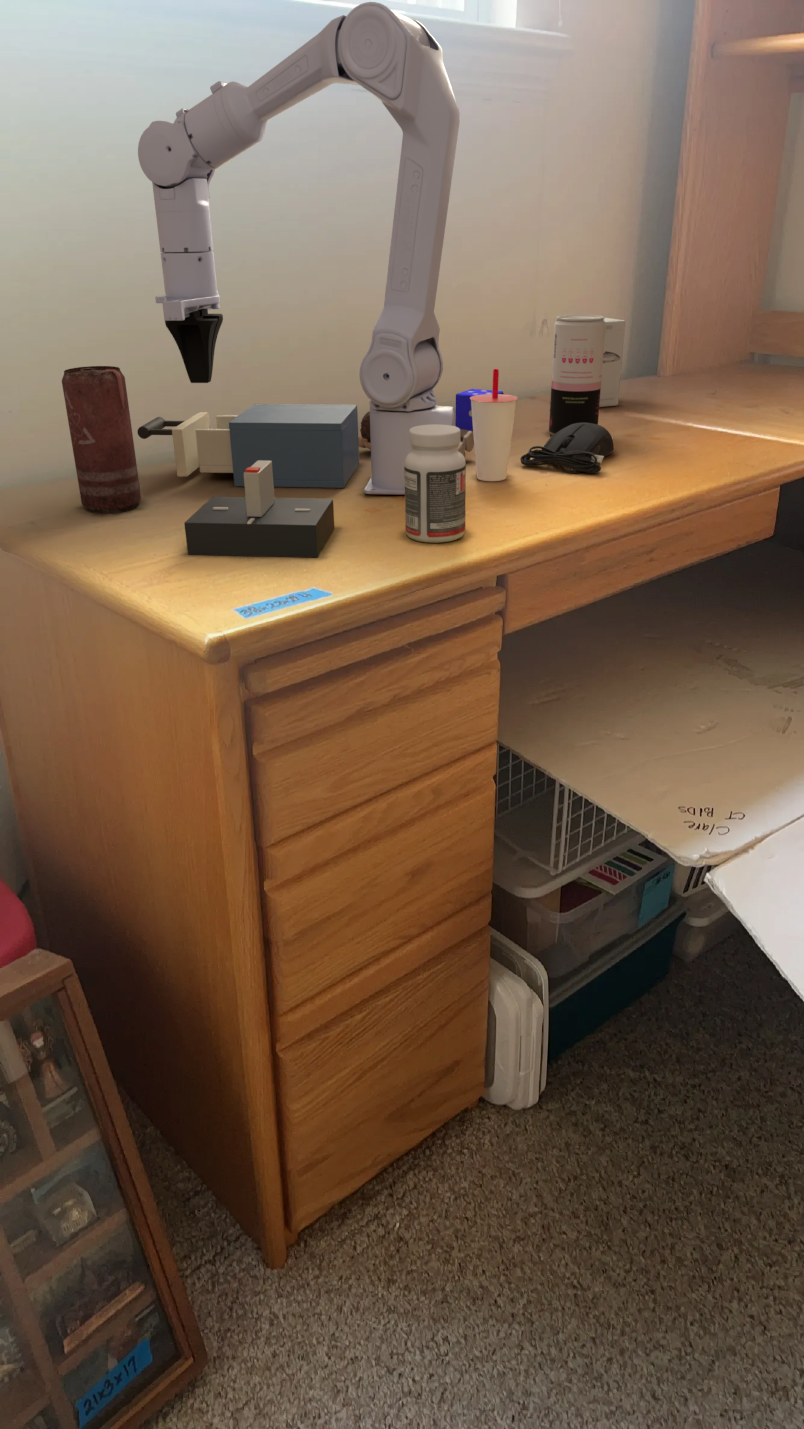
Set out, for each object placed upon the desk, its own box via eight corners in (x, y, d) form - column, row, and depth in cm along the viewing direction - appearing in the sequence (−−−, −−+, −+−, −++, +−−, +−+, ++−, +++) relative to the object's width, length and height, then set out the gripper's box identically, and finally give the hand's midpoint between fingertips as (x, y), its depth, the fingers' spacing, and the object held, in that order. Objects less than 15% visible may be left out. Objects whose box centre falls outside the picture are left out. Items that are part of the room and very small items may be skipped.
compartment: (234, 486, 112) (228, 422, 108) (258, 462, 122) (254, 403, 119) (343, 488, 110) (341, 423, 107) (359, 464, 121) (357, 404, 117)
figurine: (481, 468, 126) (381, 448, 132) (488, 425, 124) (387, 407, 130) (454, 470, 119) (350, 449, 125) (460, 425, 117) (355, 406, 123)
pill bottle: (472, 529, 95) (474, 424, 91) (455, 546, 91) (457, 437, 86) (415, 524, 97) (415, 421, 93) (396, 541, 92) (395, 433, 88)
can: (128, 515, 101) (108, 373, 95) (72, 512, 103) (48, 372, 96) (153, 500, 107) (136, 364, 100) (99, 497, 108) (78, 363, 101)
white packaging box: (580, 410, 150) (586, 322, 144) (553, 403, 156) (557, 317, 150) (619, 406, 153) (627, 319, 147) (590, 399, 159) (597, 315, 153)
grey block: (260, 502, 94) (257, 457, 92) (275, 502, 94) (271, 457, 92) (247, 516, 89) (242, 470, 87) (262, 517, 89) (258, 470, 87)
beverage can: (553, 428, 138) (559, 314, 132) (600, 430, 136) (609, 314, 130) (544, 437, 133) (550, 318, 126) (593, 440, 131) (602, 319, 124)
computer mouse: (636, 451, 125) (639, 420, 123) (596, 476, 114) (599, 442, 112) (561, 443, 129) (563, 413, 128) (516, 467, 118) (517, 434, 116)
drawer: (135, 475, 113) (129, 428, 111) (165, 455, 122) (159, 411, 120) (275, 477, 111) (272, 430, 109) (294, 457, 120) (291, 412, 118)
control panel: (334, 528, 96) (333, 496, 95) (317, 558, 88) (315, 523, 87) (215, 526, 98) (212, 494, 96) (187, 555, 89) (183, 521, 88)
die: (454, 430, 138) (455, 393, 136) (471, 424, 142) (471, 388, 139) (486, 433, 136) (487, 396, 133) (502, 427, 139) (503, 390, 137)
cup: (510, 484, 111) (514, 373, 105) (463, 482, 112) (465, 371, 106) (518, 473, 115) (522, 366, 110) (473, 471, 117) (475, 364, 111)
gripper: (172, 250, 114) (186, 372, 120) (128, 255, 101) (146, 392, 107) (231, 249, 113) (242, 372, 119) (194, 254, 100) (208, 392, 107)
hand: (200, 382), depth 113 cm, fingers closed
